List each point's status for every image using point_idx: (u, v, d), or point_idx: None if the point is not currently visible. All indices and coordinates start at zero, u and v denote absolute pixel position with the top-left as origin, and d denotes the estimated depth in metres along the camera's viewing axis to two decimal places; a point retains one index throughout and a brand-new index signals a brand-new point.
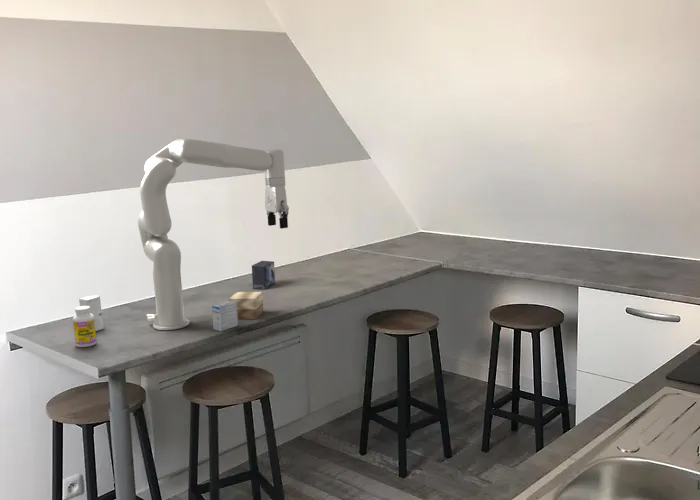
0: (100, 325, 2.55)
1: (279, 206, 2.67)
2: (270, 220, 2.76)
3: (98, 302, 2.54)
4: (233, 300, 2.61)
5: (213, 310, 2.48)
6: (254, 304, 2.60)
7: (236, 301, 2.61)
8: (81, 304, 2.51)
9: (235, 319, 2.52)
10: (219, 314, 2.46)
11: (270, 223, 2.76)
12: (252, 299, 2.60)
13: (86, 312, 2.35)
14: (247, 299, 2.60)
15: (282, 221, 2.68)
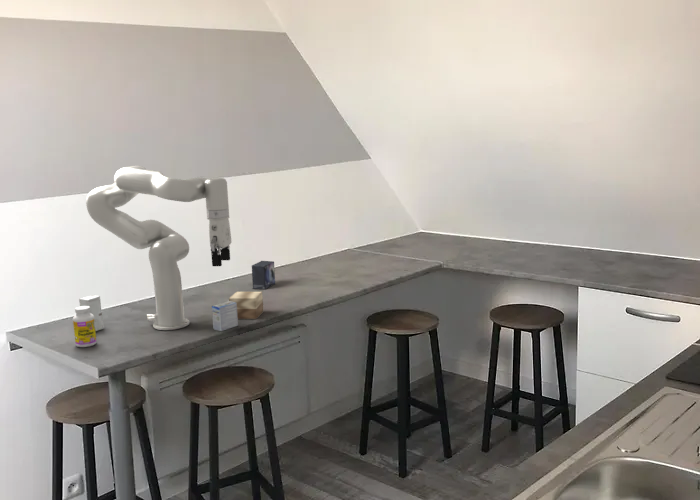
0: (100, 325, 2.55)
1: None
2: None
3: (98, 302, 2.54)
4: (233, 300, 2.61)
5: (213, 310, 2.48)
6: (254, 304, 2.60)
7: (236, 301, 2.61)
8: (81, 304, 2.51)
9: (235, 319, 2.52)
10: (219, 314, 2.46)
11: None
12: (252, 299, 2.60)
13: (86, 312, 2.35)
14: (247, 299, 2.60)
15: None
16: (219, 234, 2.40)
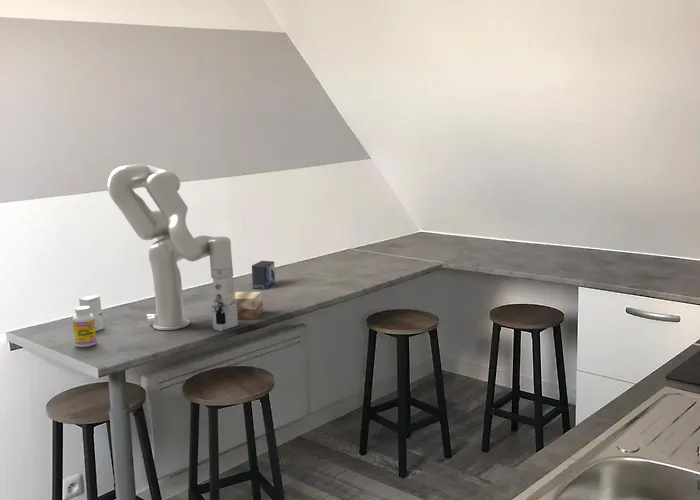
0: (100, 325, 2.55)
1: None
2: None
3: (98, 302, 2.54)
4: None
5: (213, 310, 2.48)
6: (253, 304, 2.60)
7: (235, 301, 2.61)
8: (81, 304, 2.51)
9: (235, 319, 2.52)
10: None
11: None
12: (251, 299, 2.60)
13: (86, 312, 2.35)
14: (246, 299, 2.60)
15: None
16: (223, 293, 2.44)
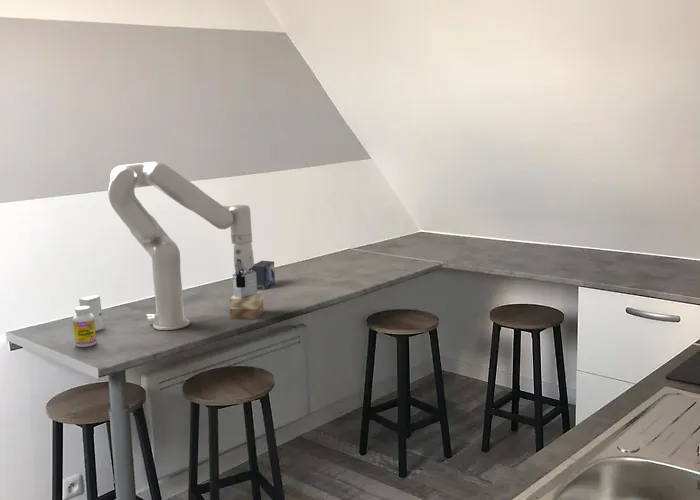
0: (100, 325, 2.55)
1: None
2: None
3: (98, 302, 2.54)
4: (234, 300, 2.61)
5: (234, 278, 2.62)
6: (255, 304, 2.60)
7: (237, 301, 2.61)
8: (81, 304, 2.51)
9: (254, 287, 2.65)
10: None
11: None
12: (253, 299, 2.60)
13: (86, 312, 2.35)
14: (248, 299, 2.60)
15: None
16: (243, 258, 2.57)
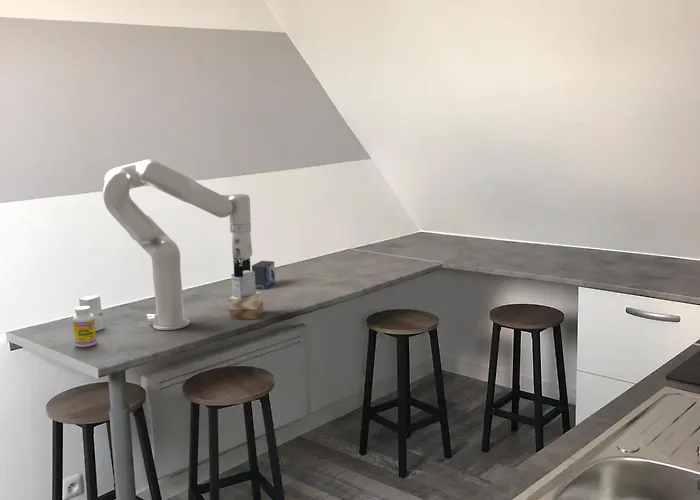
0: (100, 325, 2.55)
1: None
2: None
3: (98, 302, 2.54)
4: (233, 300, 2.60)
5: (233, 278, 2.61)
6: (254, 304, 2.60)
7: (236, 301, 2.60)
8: (81, 304, 2.51)
9: (253, 287, 2.65)
10: (238, 281, 2.60)
11: None
12: (252, 299, 2.60)
13: (86, 312, 2.35)
14: (247, 299, 2.60)
15: None
16: (241, 247, 2.56)
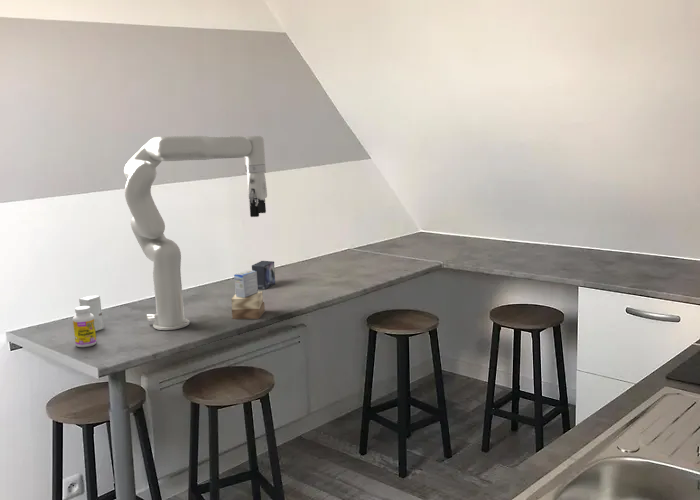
0: (100, 325, 2.55)
1: None
2: None
3: (98, 302, 2.54)
4: (236, 300, 2.61)
5: (236, 278, 2.61)
6: (257, 304, 2.61)
7: (239, 301, 2.61)
8: (81, 304, 2.51)
9: (255, 286, 2.66)
10: (242, 281, 2.60)
11: None
12: (255, 299, 2.60)
13: (86, 312, 2.35)
14: (250, 299, 2.60)
15: None
16: (257, 187, 2.62)
